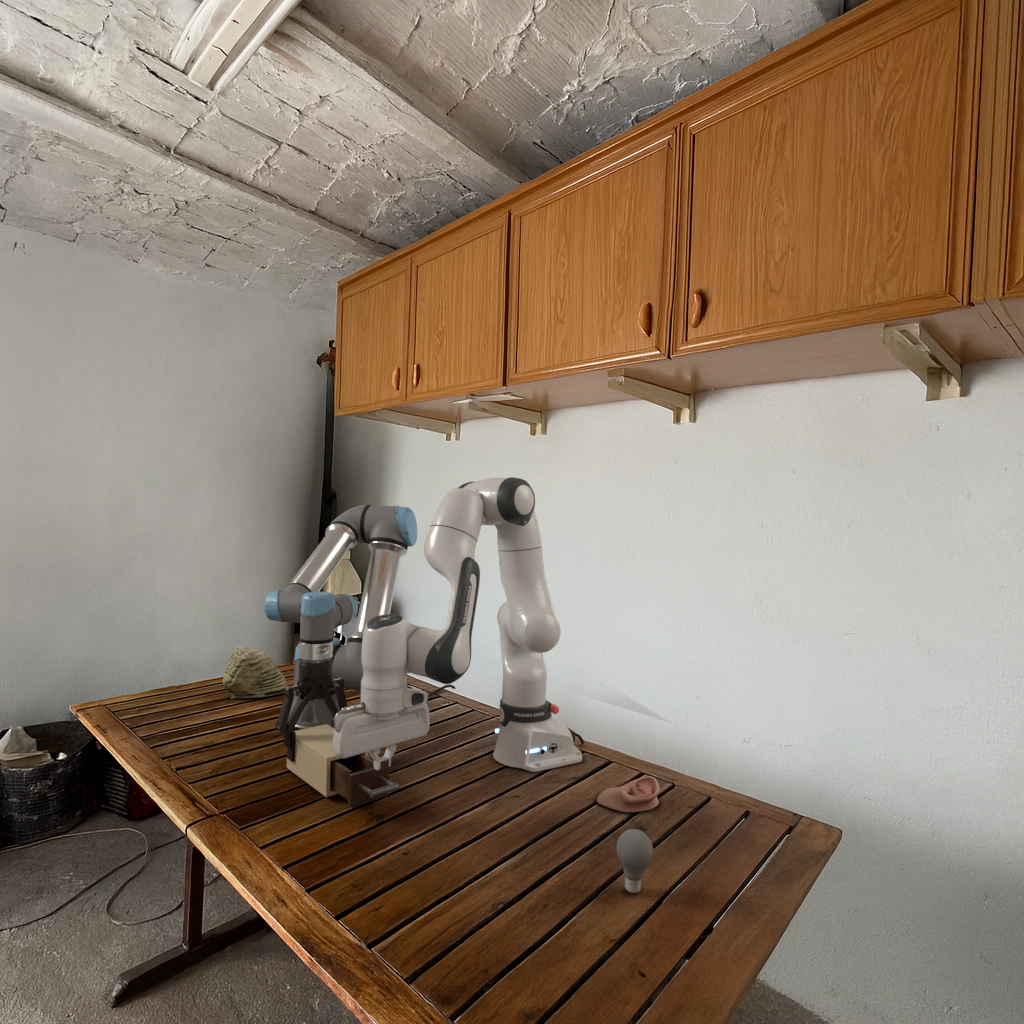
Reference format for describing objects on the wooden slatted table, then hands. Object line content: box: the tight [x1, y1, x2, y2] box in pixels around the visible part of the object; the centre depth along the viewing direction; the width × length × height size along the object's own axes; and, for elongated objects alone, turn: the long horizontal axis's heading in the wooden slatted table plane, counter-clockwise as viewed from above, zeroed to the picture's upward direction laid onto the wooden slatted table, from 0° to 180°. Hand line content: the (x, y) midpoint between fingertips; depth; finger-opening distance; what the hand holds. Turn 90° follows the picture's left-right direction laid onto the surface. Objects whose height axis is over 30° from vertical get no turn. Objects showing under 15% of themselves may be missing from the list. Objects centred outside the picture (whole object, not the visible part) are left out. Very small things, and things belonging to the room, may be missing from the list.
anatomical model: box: [596, 775, 661, 813], centre depth 138 cm, size 13×4×12 cm
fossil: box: [222, 646, 287, 699], centre depth 198 cm, size 9×18×15 cm, turn 132°
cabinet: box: [286, 724, 370, 798], centre depth 143 cm, size 21×10×8 cm, turn 42°
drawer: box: [330, 754, 400, 809], centre depth 133 cm, size 26×9×6 cm, turn 42°
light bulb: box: [615, 828, 654, 894], centre depth 106 cm, size 6×6×10 cm
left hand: (312, 754), depth 148 cm, fingers closed on cabinet, 10 cm apart
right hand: (382, 767), depth 125 cm, fingers closed
